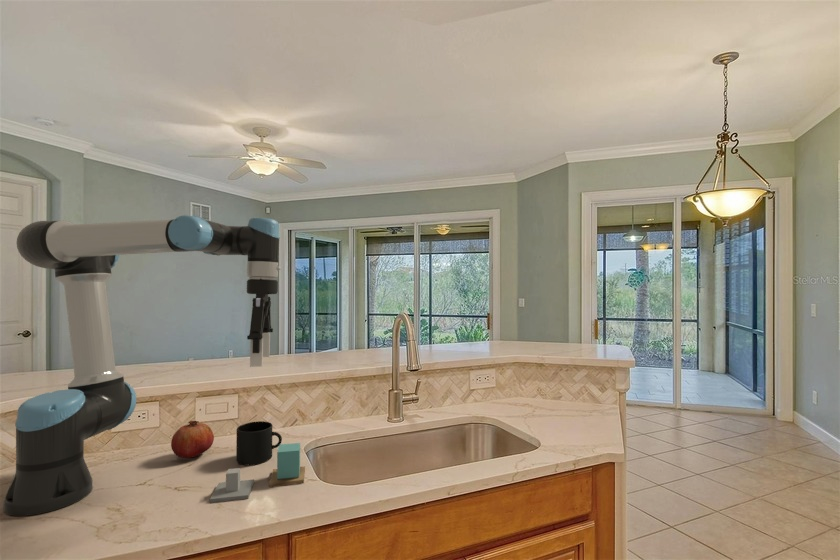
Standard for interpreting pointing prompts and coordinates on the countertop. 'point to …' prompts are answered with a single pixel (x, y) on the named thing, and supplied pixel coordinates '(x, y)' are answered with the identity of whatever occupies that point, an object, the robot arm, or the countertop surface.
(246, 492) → the grey post
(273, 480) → the brown base with post
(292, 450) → the teal rectangular block
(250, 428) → the mug
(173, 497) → the countertop surface
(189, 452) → the fruit
